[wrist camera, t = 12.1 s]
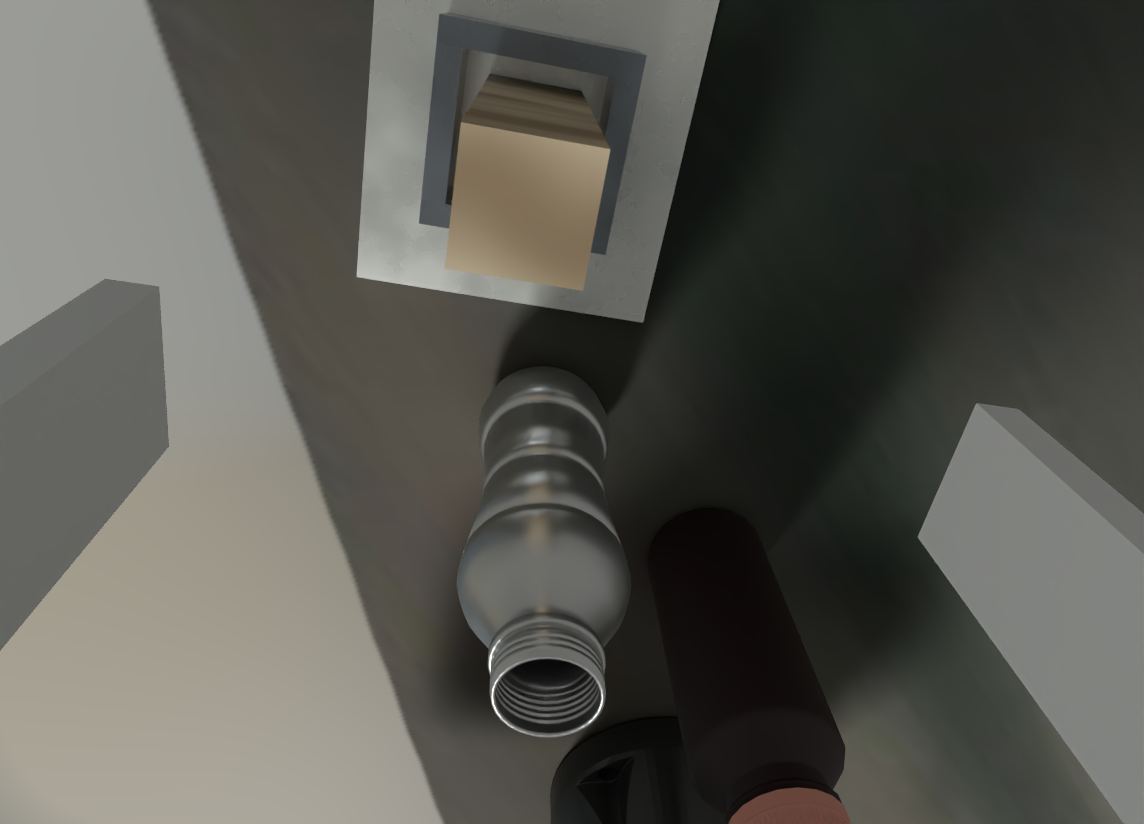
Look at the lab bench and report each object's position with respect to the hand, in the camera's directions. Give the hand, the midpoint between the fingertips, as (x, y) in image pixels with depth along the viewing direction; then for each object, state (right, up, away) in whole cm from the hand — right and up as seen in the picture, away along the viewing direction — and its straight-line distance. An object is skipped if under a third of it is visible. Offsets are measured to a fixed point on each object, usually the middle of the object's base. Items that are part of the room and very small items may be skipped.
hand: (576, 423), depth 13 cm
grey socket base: (-2, +13, +23) cm, 27 cm away
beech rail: (-2, +13, +22) cm, 26 cm away
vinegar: (+8, -8, +35) cm, 37 cm away
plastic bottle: (-2, +1, +30) cm, 30 cm away
